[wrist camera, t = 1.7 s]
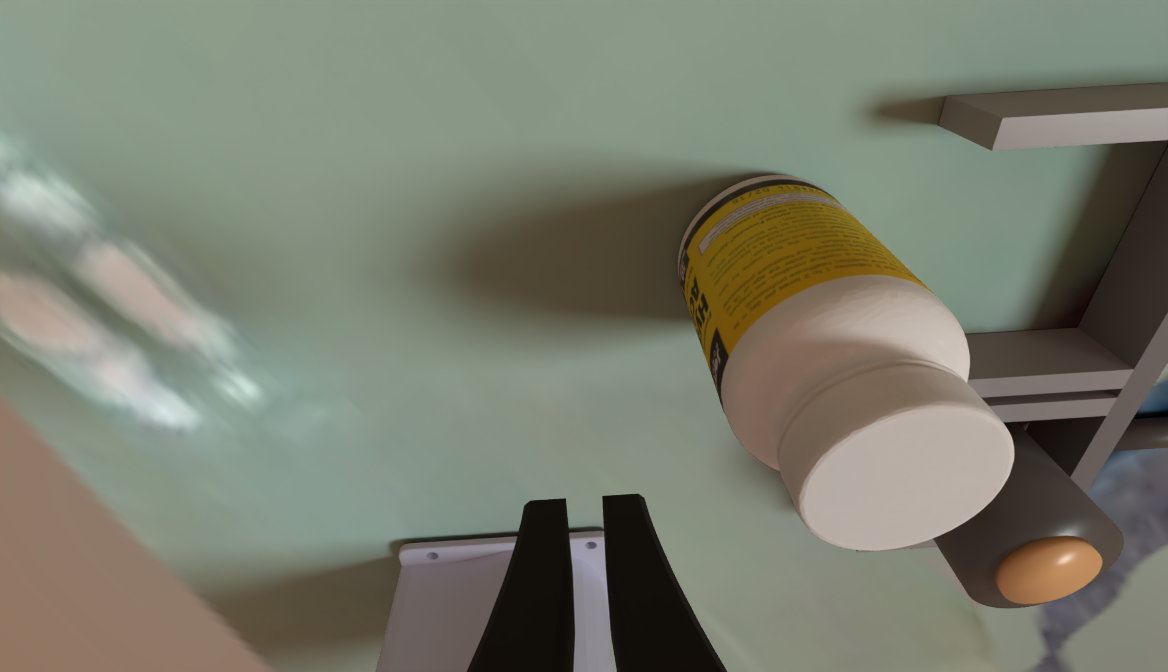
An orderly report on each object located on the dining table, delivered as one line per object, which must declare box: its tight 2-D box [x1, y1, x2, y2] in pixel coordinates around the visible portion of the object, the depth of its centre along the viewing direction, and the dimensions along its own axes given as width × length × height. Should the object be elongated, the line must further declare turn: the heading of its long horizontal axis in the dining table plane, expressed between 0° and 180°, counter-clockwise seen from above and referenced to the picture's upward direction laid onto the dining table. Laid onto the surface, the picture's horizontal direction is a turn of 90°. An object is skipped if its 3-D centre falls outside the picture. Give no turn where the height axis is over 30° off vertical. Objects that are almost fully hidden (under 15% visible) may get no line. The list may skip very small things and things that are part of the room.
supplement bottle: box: [678, 175, 1014, 551], centre depth 15 cm, size 5×5×10 cm
